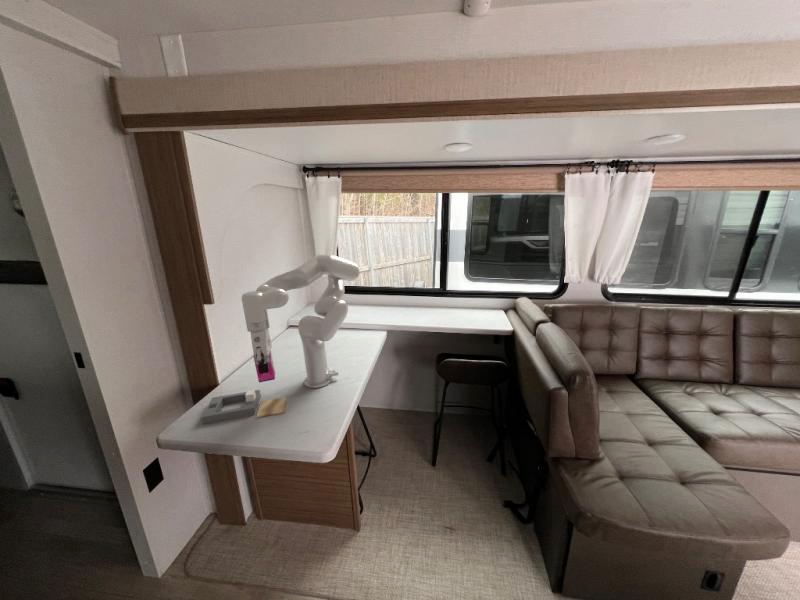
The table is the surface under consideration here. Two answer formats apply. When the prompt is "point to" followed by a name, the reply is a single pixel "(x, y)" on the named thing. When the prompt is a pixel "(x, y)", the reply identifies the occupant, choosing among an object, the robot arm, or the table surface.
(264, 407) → the coaster
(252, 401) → the grey rectangular frame
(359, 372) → the table surface
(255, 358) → the supplement box
